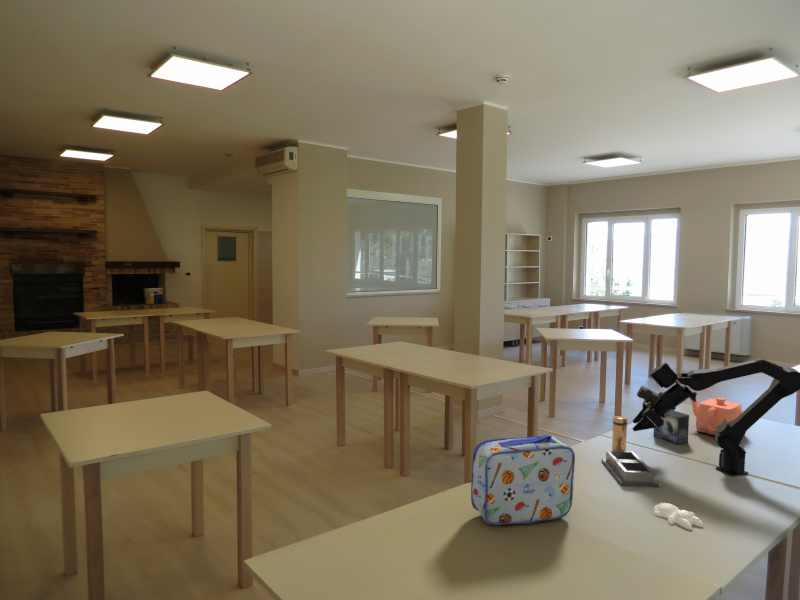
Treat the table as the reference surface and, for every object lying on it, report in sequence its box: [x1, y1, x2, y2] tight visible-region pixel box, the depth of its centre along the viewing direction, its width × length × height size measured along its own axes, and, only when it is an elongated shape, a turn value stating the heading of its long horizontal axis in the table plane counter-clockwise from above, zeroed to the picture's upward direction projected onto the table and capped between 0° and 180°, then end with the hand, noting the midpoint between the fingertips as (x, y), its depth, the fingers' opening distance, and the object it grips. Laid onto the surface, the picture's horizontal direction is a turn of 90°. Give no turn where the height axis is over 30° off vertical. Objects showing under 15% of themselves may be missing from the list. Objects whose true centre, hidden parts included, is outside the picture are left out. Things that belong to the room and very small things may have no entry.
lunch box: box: [470, 434, 576, 525], centre depth 136 cm, size 28×10×22 cm, turn 105°
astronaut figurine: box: [653, 502, 704, 531], centre depth 137 cm, size 9×12×3 cm
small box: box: [652, 410, 690, 445], centre depth 196 cm, size 11×6×10 cm, turn 25°
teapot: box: [688, 397, 743, 436], centre depth 206 cm, size 20×19×14 cm
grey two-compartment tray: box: [601, 450, 660, 488], centre depth 165 cm, size 19×11×4 cm, turn 176°
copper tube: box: [611, 415, 628, 451], centre depth 180 cm, size 5×5×13 cm
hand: (633, 426), depth 178 cm, fingers open, 9 cm apart
